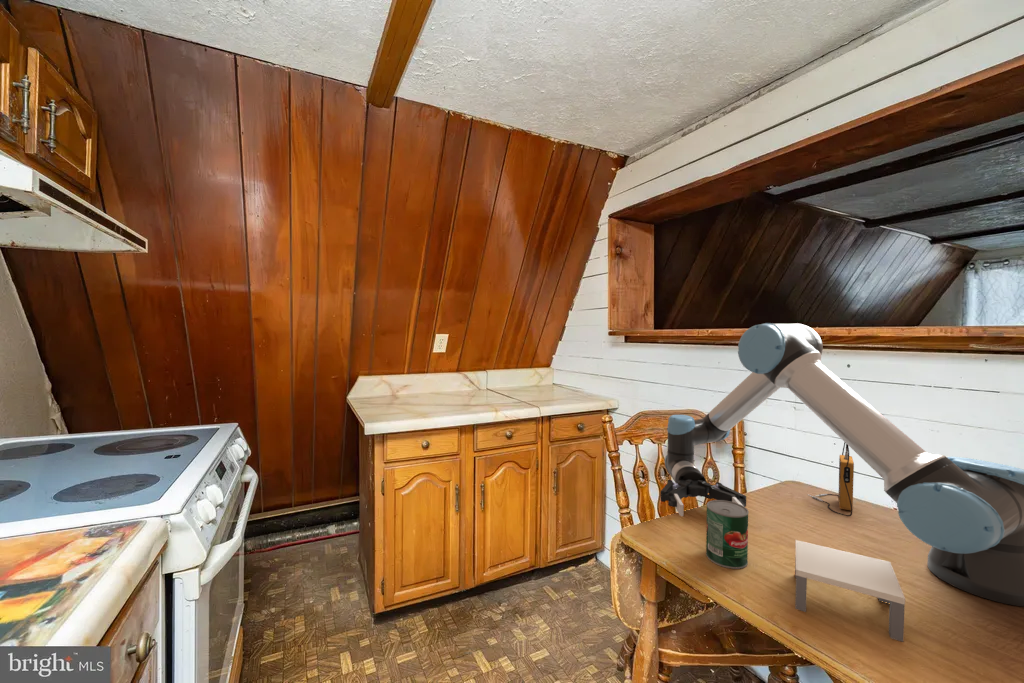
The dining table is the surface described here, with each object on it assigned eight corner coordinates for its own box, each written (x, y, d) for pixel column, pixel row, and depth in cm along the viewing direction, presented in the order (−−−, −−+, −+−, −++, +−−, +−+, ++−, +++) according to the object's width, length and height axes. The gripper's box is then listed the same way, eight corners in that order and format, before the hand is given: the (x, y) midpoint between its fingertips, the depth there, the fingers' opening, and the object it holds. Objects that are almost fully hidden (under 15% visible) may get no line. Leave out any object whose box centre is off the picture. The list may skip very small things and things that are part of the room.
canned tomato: (711, 544, 94) (712, 496, 94) (751, 556, 89) (752, 506, 89) (701, 560, 88) (702, 508, 88) (743, 574, 83) (744, 519, 83)
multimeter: (806, 490, 125) (808, 423, 124) (850, 498, 119) (851, 428, 118) (806, 507, 113) (807, 434, 112) (854, 517, 107) (856, 440, 106)
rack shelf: (888, 599, 75) (890, 561, 75) (903, 642, 65) (905, 598, 65) (794, 574, 83) (795, 539, 83) (795, 608, 73) (796, 569, 73)
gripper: (735, 494, 116) (770, 531, 95) (642, 489, 120) (656, 524, 99) (736, 467, 116) (771, 499, 95) (642, 463, 120) (656, 493, 99)
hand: (712, 512), depth 97 cm, fingers open, 13 cm apart
